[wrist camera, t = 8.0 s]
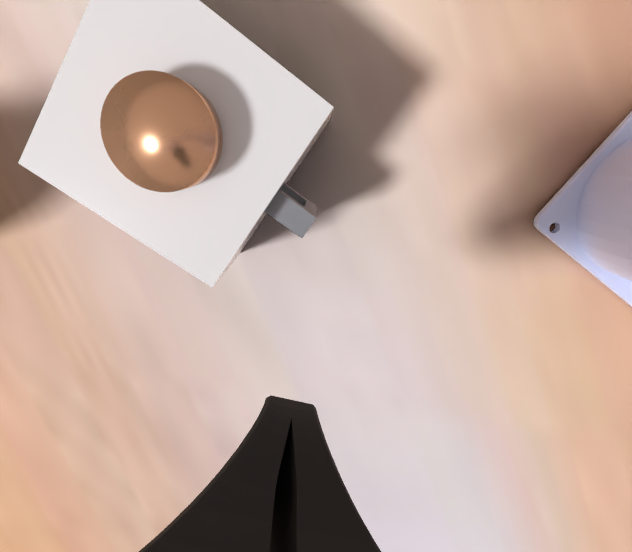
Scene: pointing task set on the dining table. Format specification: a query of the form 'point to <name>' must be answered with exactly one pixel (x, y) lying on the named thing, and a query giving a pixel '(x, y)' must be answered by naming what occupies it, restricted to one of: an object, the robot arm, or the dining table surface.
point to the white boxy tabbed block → (232, 110)
